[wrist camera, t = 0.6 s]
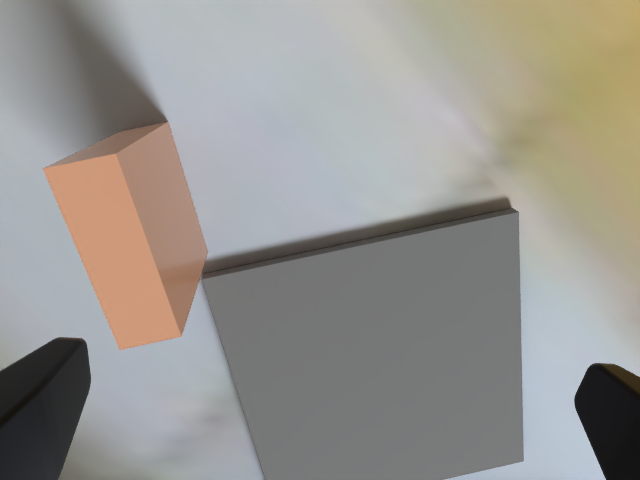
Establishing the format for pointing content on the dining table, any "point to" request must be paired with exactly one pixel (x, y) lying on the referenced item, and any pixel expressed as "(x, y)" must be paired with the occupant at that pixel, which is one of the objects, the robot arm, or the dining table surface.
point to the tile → (134, 230)
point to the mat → (381, 353)
